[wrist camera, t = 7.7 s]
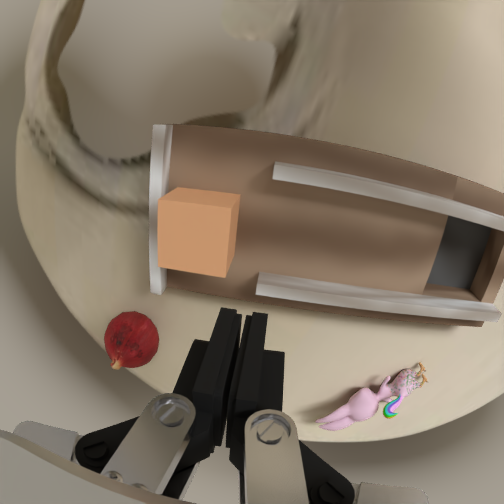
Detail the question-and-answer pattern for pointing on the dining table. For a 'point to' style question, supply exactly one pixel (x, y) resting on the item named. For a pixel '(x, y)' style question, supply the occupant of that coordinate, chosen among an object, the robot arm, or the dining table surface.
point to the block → (197, 230)
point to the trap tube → (336, 227)
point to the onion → (131, 340)
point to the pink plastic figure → (373, 401)
